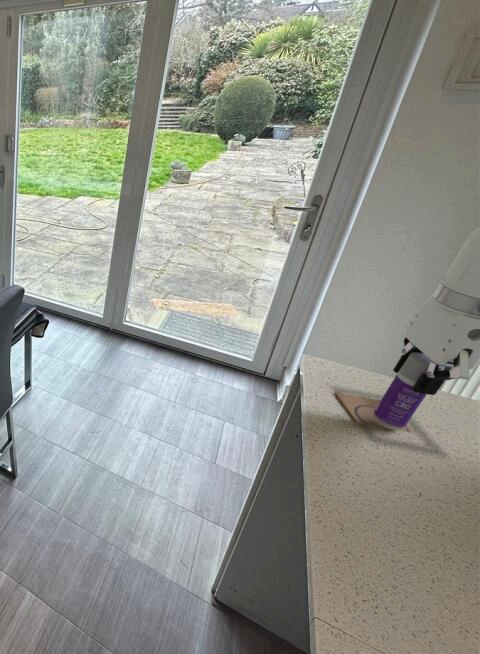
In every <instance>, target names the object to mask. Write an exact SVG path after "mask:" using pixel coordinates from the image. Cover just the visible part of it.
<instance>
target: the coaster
mask: <svg viewBox="0 0 480 654" xmlns="http://www.w3.org/2000/svg"><path fill="white" fill-rule="evenodd" d="M334 394H335V396H336V398H338V400H339V401H340V403H341V404H342V406H343V407H344V409H346V411H347V413H348V414H349V415H350V417H351V418H352V419H353V420H354V422H355V423H359V424H364V425H367V426H368V425H369V426H375V427H380V428H385V429H390V430H395V431H400V432H405V433H410V434H411V433H412V434H415V435H417V432H416V431H415V430H414V429H413V428H412V426H411V425H410V424H409V422H408V423H407V424H406V426H405V427H404V428H402V429H397V428H392V427H390V426H387V425H385V424H383V423H381V422H380V421H378V420H377V419H376V418H375V417H374V415H373V413H374V411H375V409H376V408H377V406H378V404H379V403H380V401H381V399H380V400H379V399H377V398H376V399H375V398H370V397H364V396H359V395H354V394H348V393H343V392H338V391H337V392H336V391H335V392H334Z"/></svg>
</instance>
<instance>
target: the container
mask: <svg viewBox="0 0 480 654" xmlns="http://www.w3.org/2000/svg"><path fill="white" fill-rule="evenodd" d="M430 362H431V359H430V358H429V357H428V356H426V355H425V354H423V353H411V354H410V355H409V357H408V358H407V360H406V361H405V363H404V364H403V366H402V367H401V369H400V370H399V372H398V373H396V374H395V376H394V378H393V380H392V381H391V383H390V385H389V386H388V387H387V389H386V391H385V393H384V394H383V396H382V398H381V399H380V400H381V401H380V403H379V404H378V406H377V408H376V409H375V411H374V413H373V415H374V417H375V418H376V419H377V420H378V421H380V422H381V423H383V424H385V425H387V426H390V427H392V428H397V429H402V428H404V427H405V426H406V424H407V423H408V424H409V422H410V420H411V419H412V417H413V415H414V414H415V412H416V411H417V409H418V408H419V407H420V405H421V403H422V402H423V401H424V399H426V396H427V395H428V394H422V393H416V392H414V391H413V390H412V388H413V386H414V385H415V383H416V382H417V380H418V379H419V377H420V376H421V374H422V373H424V374H426V373H427V370H428V367H429V364H430ZM444 367H445V366H440V365H439V368H438V371H440V370H444Z"/></svg>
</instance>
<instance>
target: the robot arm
mask: <svg viewBox="0 0 480 654" xmlns="http://www.w3.org/2000/svg"><path fill="white" fill-rule="evenodd" d="M402 334H403V338H404V339H403V348H402V349H401V356H400V358H399V359H398V360H397V363H396V364H395V365H394V368H393V369H392V370H393V372H394V373H395V374H397V373H398V372H399V370H400V369H401V367H402V366H403V364H404V363H405V361H406V360H407V358H408V357H409V355H410V354H411V353H423V354H425V355H426V356H428V357H429V358H430V359H431V362H430V364H429V367H428V370H427V373H426V374H424V373H422V374H421V376H420V377H419V379H418V380H417V382H416V383H415V385H414V386H413V388H412V390H413V391H414V392H416V393H422V394H427V395H428V396H429V395H430V396H436V394H437V393H438V392H439V390H440V389H441V387H442V386H443V384H444V383H445V381H452V380H469V379H470V371H471V370H473V369H474V368H475V367H476V366H477V365H478V364H479V361H480V227H477V228H476V229H474V230H472V232H470V234H469V235H468V237H467V238H466V240H465V241H464V243H463V244H462V246H461V248H460V250H459V251H458V253H457V255H456V257H455V258H454V260H453V262H452V263H451V265H450V266H449V268H448V270H447V271H446V273H445V275H444V276H443V278H442V280H441V281H440V283H439V285H438V286H437V287H436V289H435V291H434V293H433V294H432V295H431V296H430V297H428V299H427V300H426V301H425V302H424V303H423V304H422V306H421V307H420V308H419V309H418V311H417V312H416V314H414V316H413V318H412V319H411V321H410V322H409V324H408V325H407V326H406V327H403V329H402ZM439 365H440V366H444V368H443V369H442V370H440V371H438V368H439Z"/></svg>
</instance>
